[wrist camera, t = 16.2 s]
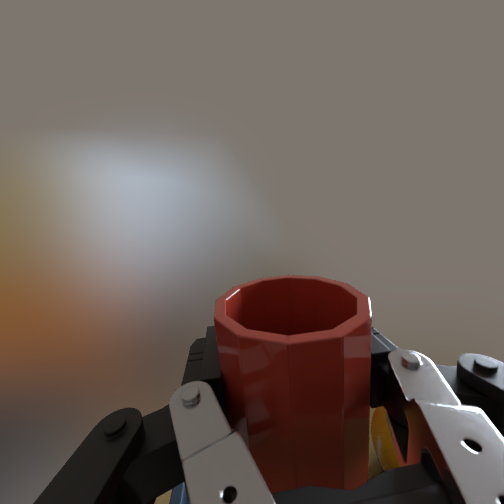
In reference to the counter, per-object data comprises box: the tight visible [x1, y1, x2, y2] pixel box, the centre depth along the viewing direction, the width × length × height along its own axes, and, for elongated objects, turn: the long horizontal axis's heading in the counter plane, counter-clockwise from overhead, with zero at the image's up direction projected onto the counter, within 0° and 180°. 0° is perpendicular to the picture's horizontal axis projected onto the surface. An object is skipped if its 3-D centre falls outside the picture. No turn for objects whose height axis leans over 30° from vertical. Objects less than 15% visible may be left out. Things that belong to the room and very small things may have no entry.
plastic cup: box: [214, 275, 372, 493], centre depth 9 cm, size 5×5×9 cm
